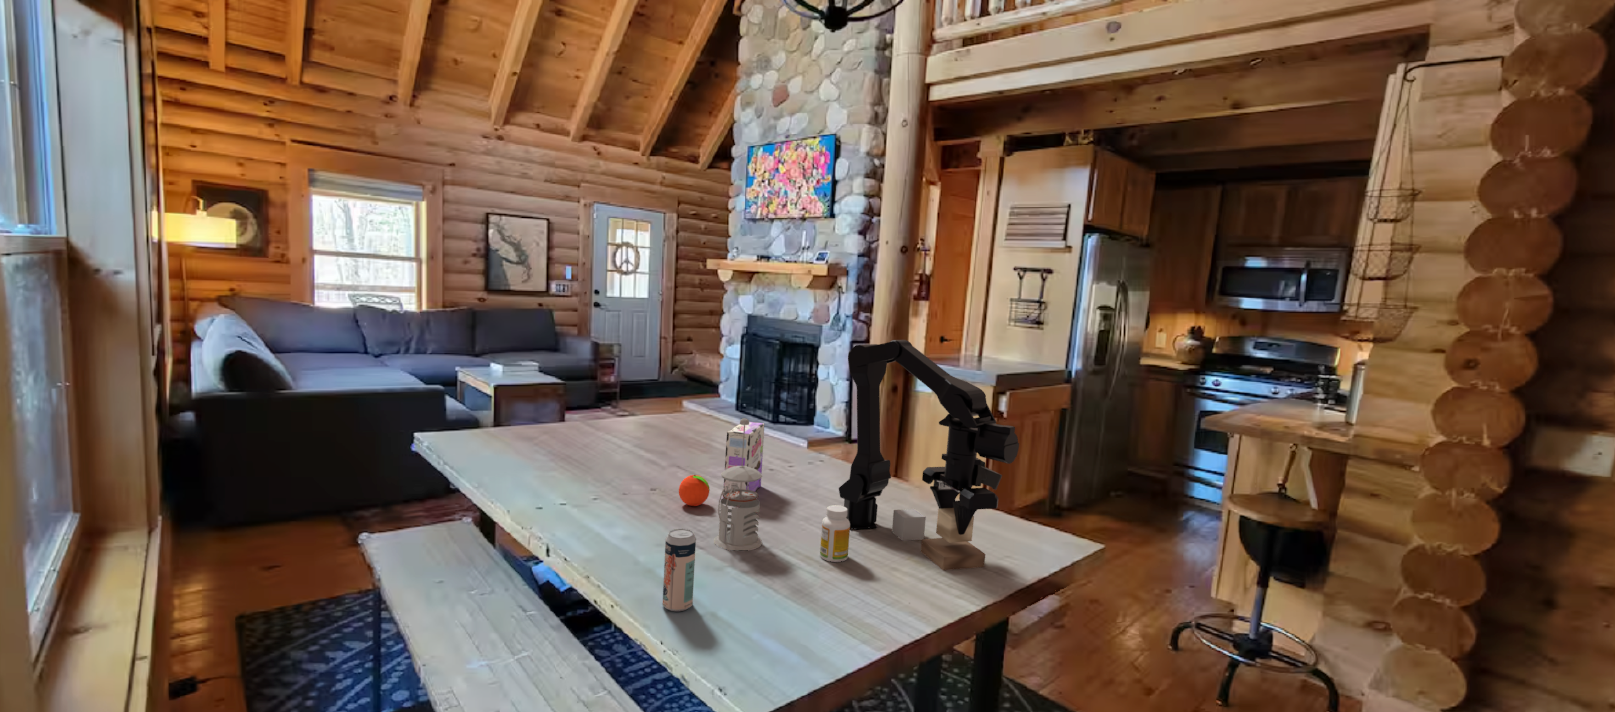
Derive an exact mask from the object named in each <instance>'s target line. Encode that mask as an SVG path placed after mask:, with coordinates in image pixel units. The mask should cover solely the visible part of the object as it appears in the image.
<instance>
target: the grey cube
mask: <svg viewBox="0 0 1615 712" xmlns="http://www.w3.org/2000/svg"><path fill="white" fill-rule="evenodd" d="M892 514H893V515H892V525H891V526H892V528H891V533H892V534H894V535H895V534H896V535H897V536H898V537H899V540H901V541H902V542H906V541H918V540H921V541H922V539H925V529H926V518H927V517H926V516H925V515H924V514H922V513H921V512H920V511H918V510H917V509H915V508H906V509H905V508H904V509H894V510H893V513H892ZM896 535H895V536H896ZM897 536H896V537H897ZM898 537H897V538H898Z"/></svg>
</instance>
